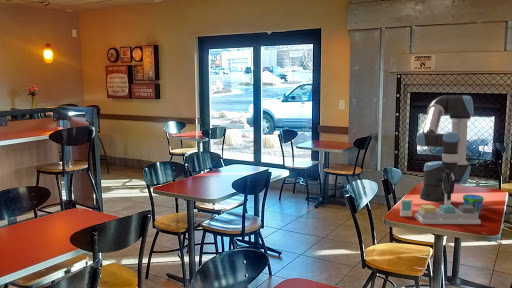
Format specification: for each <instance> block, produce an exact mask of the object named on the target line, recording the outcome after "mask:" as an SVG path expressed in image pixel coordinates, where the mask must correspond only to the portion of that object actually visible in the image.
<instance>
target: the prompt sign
mask: <svg viewBox="0 0 512 288" xmlns="http://www.w3.org/2000/svg"><path fill="white" fill-rule="evenodd" d="M399 215H400V217H413V199H410V198H409V199H400V212H399Z"/></svg>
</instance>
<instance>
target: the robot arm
mask: <svg viewBox="0 0 512 288" xmlns="http://www.w3.org/2000/svg"><path fill="white" fill-rule="evenodd" d="M426 113H427V115H426V119H425V122H424V126H423V128H422V129H423V130H422V131H421V132H418V133H417V134H416V138H415V139H416V145H417V146H418V147H431V148H442V152H441V153H442V154H441V159H442V161H439V160H438V161H434V160H433V161H428V162H425V164H424V166H423V182H422V183H423V184H422V185H423V186H422V188H421V190H420V193H419V198H420V199H421V200H424V201H430V202H431V201H432V202H441V201H442V202H443V201H444V205H445V206H451V205H452V204H451V203H452V195H453V194H454V189H455V185H458V186H459V185H467V184H468V182H469V177H470V172H471V168H472V167H471V165H469V161H467V142H468V122H469V120H471V116H474V114H475V113H474V103H473V98H472V96H471V95H464V94H463V95H441V96H439V97H436V98H435V99H433V100H432V101H431V102H430V104H429V105H428V106H427V109H426ZM445 115H447V116H449V119H450V120H451V131H444V132H443V133H438V130H439V126H440V124H441V123H440V122H441V118H442V117H443V116H445Z"/></svg>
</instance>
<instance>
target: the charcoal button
mask: <svg viewBox="0 0 512 288" xmlns="http://www.w3.org/2000/svg"><path fill="white" fill-rule="evenodd" d="M458 209H459V211H460V212H462V213H475V208H474V207H472V206H471V205H464V204H459V205H458Z"/></svg>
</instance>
